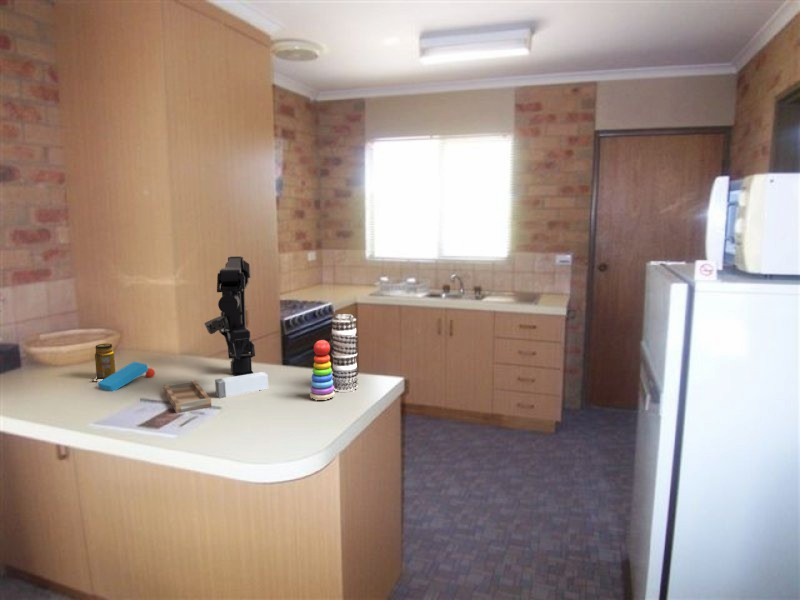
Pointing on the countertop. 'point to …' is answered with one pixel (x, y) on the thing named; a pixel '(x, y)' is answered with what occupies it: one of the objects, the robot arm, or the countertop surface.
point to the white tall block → (241, 384)
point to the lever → (125, 376)
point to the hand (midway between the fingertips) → (234, 355)
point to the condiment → (104, 361)
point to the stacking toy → (322, 373)
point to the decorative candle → (344, 352)
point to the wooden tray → (187, 396)
